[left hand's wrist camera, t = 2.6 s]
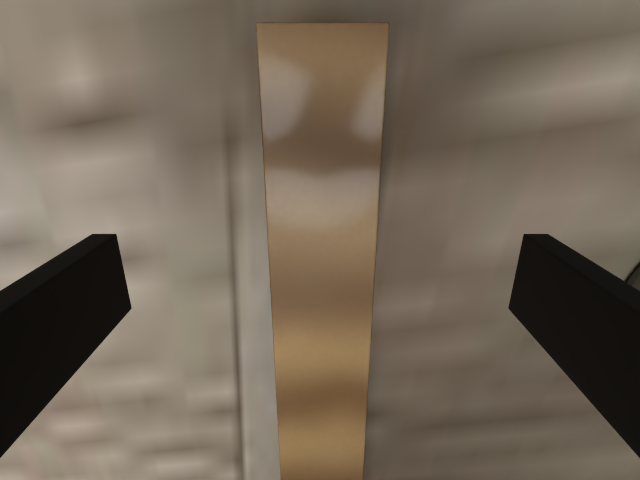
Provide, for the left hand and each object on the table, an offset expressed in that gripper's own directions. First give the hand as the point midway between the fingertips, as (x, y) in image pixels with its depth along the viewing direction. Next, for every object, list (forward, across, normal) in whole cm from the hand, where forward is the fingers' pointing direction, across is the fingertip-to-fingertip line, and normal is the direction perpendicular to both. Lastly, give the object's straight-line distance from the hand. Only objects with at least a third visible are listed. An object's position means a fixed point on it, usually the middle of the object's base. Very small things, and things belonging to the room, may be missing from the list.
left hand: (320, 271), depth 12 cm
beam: (+15, 0, -19) cm, 24 cm away
